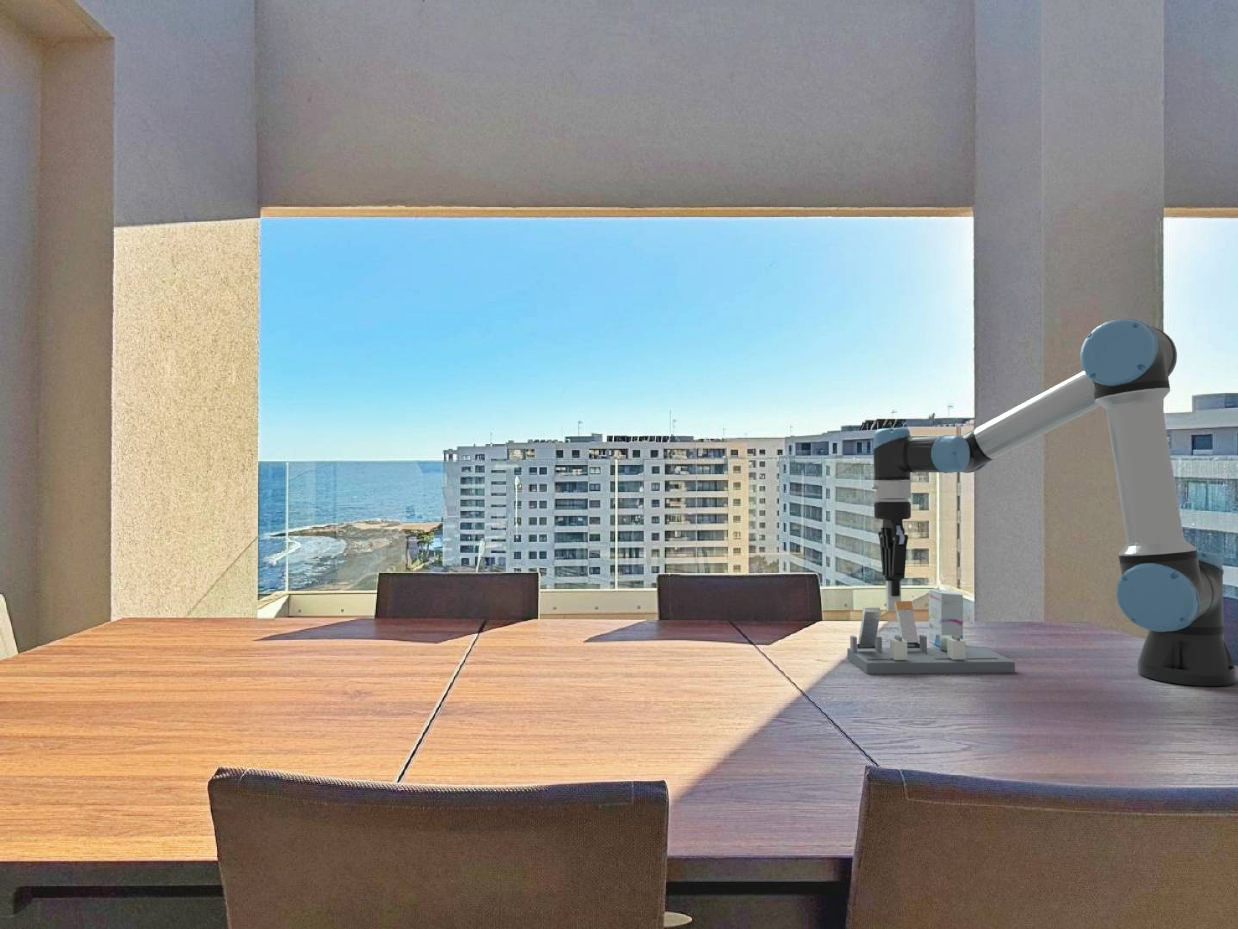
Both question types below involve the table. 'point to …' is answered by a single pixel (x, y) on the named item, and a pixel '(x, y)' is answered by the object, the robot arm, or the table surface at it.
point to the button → (944, 641)
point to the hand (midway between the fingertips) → (893, 610)
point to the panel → (926, 660)
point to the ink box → (945, 614)
